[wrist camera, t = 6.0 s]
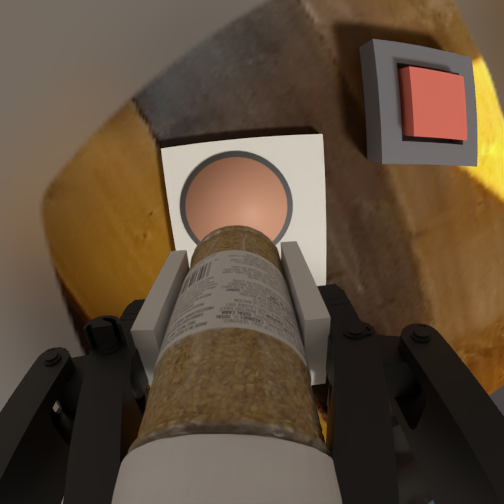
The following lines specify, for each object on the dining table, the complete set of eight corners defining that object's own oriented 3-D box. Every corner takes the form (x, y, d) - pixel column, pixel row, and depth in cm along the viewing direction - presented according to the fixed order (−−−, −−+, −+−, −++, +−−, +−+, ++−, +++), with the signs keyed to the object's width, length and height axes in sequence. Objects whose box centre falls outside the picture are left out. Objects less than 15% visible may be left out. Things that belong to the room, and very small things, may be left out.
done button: (449, 138, 25) (467, 140, 22) (398, 134, 25) (414, 136, 22) (445, 78, 23) (463, 76, 20) (393, 71, 23) (409, 66, 20)
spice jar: (228, 319, 17) (217, 582, 5) (172, 256, 16) (59, 529, 3) (300, 273, 16) (389, 548, 4) (246, 202, 15) (261, 517, 2)
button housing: (457, 161, 28) (477, 166, 25) (367, 159, 28) (382, 164, 25) (452, 61, 24) (471, 57, 21) (358, 47, 24) (372, 38, 21)
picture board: (322, 310, 34) (325, 315, 32) (192, 321, 34) (190, 327, 33) (319, 134, 27) (323, 134, 26) (163, 148, 27) (160, 148, 26)
